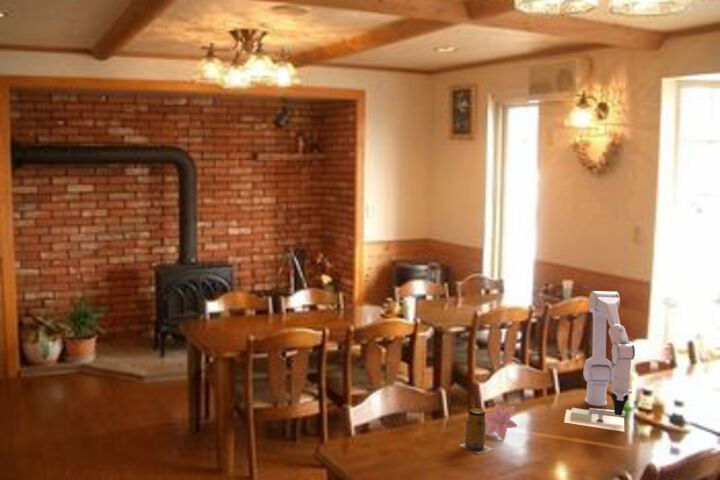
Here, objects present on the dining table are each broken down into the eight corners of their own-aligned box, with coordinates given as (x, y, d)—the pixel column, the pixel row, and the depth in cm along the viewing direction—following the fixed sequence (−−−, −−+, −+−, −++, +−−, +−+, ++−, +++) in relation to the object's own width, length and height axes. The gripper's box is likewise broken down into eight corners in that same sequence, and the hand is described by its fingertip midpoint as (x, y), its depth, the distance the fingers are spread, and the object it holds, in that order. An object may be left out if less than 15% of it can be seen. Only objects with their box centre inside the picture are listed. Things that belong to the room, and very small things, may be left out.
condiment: (474, 440, 240) (476, 405, 238) (494, 449, 233) (496, 413, 232) (458, 445, 235) (460, 409, 234) (478, 455, 229) (481, 418, 227)
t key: (588, 418, 261) (589, 407, 261) (623, 422, 259) (624, 411, 259) (588, 420, 260) (589, 409, 259) (624, 423, 257) (625, 412, 257)
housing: (566, 412, 270) (566, 409, 270) (623, 420, 264) (623, 417, 264) (563, 425, 257) (564, 422, 257) (624, 434, 251) (624, 431, 251)
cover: (571, 414, 265) (571, 407, 265) (591, 417, 263) (592, 410, 263) (570, 418, 261) (571, 412, 260) (591, 422, 258) (591, 415, 258)
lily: (478, 430, 252) (474, 410, 247) (506, 414, 255) (504, 395, 250) (498, 453, 242) (495, 433, 237) (527, 436, 246) (525, 417, 240)
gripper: (633, 384, 248) (630, 422, 249) (632, 373, 262) (629, 410, 263) (611, 381, 250) (608, 419, 252) (611, 370, 264) (609, 407, 265)
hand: (618, 414), depth 257 cm, fingers closed, pressing on t key
